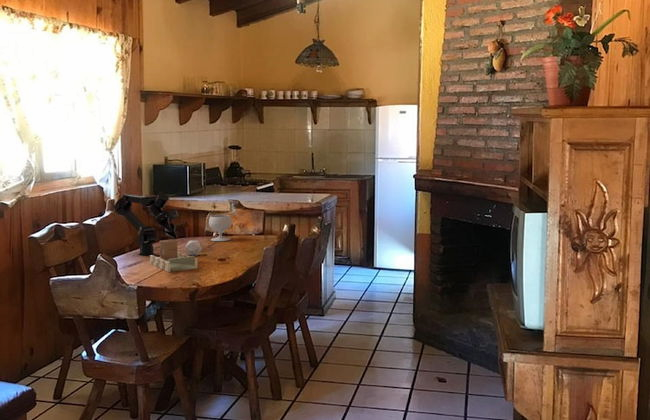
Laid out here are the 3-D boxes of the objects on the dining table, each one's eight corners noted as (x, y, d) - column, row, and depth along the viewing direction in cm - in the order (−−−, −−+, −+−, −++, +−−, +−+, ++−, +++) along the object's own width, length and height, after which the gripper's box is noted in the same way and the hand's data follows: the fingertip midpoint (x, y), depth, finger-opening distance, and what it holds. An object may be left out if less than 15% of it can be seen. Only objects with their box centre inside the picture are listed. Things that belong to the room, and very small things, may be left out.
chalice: (221, 242, 402) (221, 218, 400) (204, 240, 410) (203, 216, 408) (236, 239, 414) (236, 215, 412) (219, 237, 421) (219, 213, 420)
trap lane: (150, 264, 341) (149, 252, 340) (178, 260, 350) (178, 249, 349) (167, 272, 322) (167, 259, 321) (197, 268, 331) (197, 256, 330)
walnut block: (160, 258, 340) (159, 240, 339) (173, 256, 344) (172, 239, 343) (164, 260, 336) (163, 242, 334) (177, 258, 340) (177, 241, 338)
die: (193, 258, 359) (203, 243, 361) (180, 250, 360) (190, 235, 362) (196, 260, 367) (206, 246, 369) (183, 252, 367) (193, 238, 369)
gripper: (166, 197, 350) (182, 219, 344) (176, 212, 367) (191, 233, 361) (148, 209, 347) (164, 231, 342) (158, 224, 364) (173, 245, 359)
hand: (173, 235), depth 351 cm, fingers open, 9 cm apart
